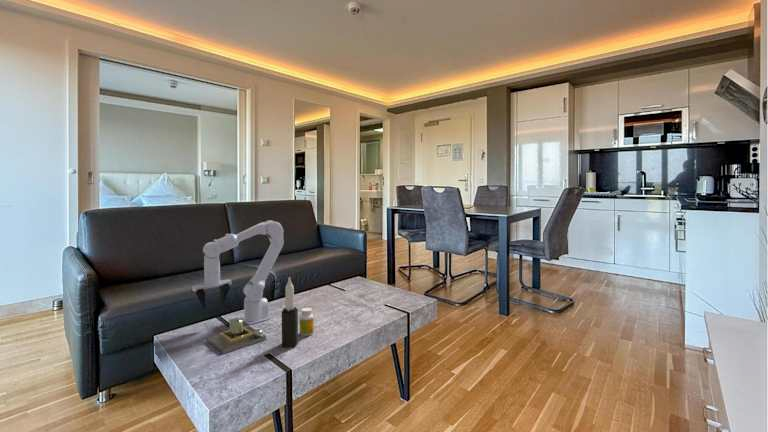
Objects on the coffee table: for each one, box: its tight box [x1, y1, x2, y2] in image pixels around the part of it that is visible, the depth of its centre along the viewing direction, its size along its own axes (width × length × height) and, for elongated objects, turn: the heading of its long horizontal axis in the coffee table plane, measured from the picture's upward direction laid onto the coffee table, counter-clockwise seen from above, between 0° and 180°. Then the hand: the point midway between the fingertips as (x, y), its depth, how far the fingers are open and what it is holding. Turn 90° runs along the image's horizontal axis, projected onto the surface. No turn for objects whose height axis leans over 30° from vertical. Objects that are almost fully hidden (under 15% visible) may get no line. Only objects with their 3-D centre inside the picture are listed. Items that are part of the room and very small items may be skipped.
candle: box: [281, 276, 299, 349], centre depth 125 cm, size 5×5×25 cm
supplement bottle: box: [299, 307, 315, 337], centre depth 136 cm, size 5×5×10 cm
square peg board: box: [206, 325, 267, 355], centre depth 128 cm, size 16×14×4 cm
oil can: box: [229, 316, 244, 339], centre depth 128 cm, size 5×5×10 cm
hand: (213, 305), depth 140 cm, fingers open, 7 cm apart
